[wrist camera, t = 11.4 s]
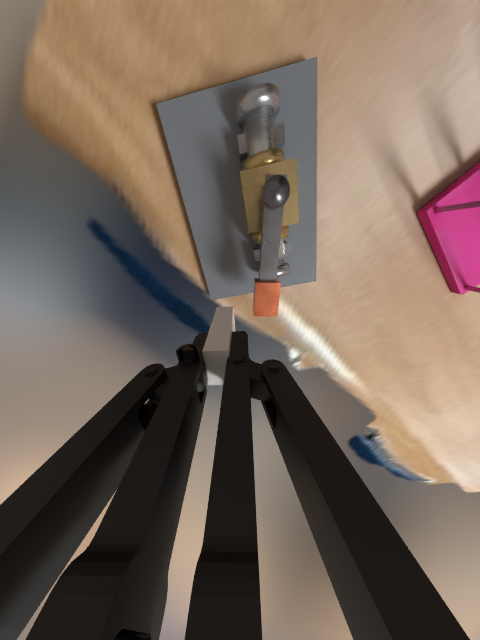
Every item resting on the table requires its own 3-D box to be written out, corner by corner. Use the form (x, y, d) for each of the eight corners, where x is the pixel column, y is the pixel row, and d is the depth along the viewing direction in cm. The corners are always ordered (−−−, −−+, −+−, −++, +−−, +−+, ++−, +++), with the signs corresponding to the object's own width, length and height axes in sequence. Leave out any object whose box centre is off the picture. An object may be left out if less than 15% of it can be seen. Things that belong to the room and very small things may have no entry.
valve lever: (258, 180, 18) (261, 171, 16) (286, 181, 18) (294, 172, 16) (252, 308, 25) (254, 316, 22) (273, 308, 25) (277, 316, 22)
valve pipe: (230, 122, 21) (227, 85, 16) (279, 109, 20) (293, 66, 15) (253, 274, 29) (256, 283, 24) (289, 267, 28) (300, 274, 23)
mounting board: (161, 112, 21) (156, 103, 19) (311, 69, 19) (317, 56, 18) (212, 297, 31) (211, 300, 30) (312, 278, 30) (316, 280, 28)
